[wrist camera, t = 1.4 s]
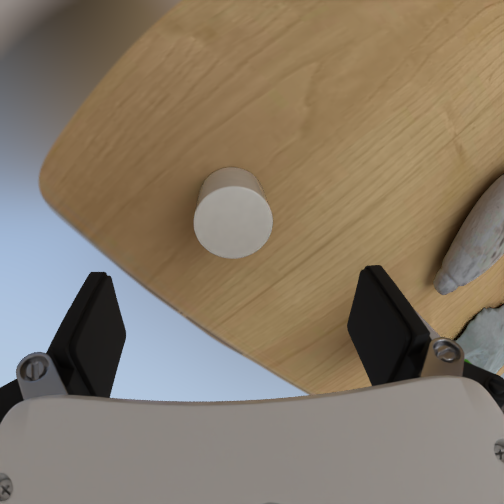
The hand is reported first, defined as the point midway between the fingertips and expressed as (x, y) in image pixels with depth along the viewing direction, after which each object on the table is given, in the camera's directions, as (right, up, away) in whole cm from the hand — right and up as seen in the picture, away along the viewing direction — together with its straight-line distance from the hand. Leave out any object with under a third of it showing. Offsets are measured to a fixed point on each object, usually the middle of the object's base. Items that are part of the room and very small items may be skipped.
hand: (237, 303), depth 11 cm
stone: (+31, -11, +21) cm, 39 cm away
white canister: (-1, +5, +9) cm, 10 cm away
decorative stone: (+21, +5, +11) cm, 24 cm away
